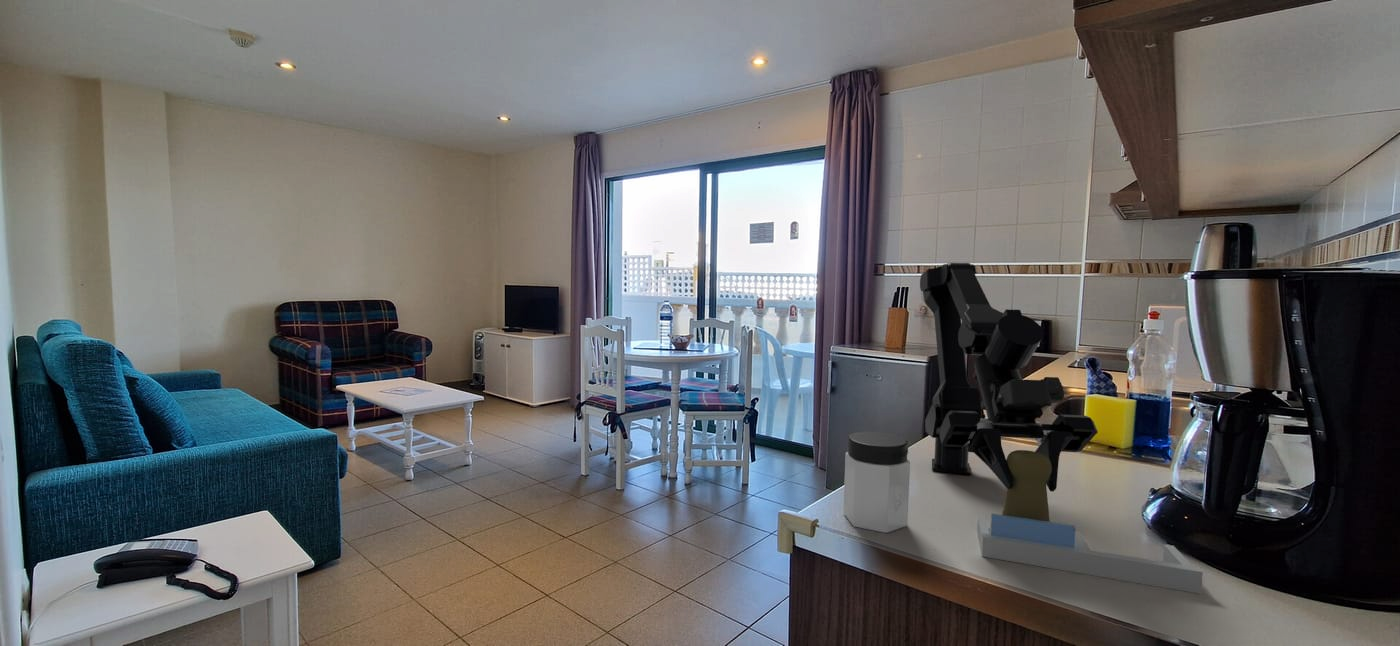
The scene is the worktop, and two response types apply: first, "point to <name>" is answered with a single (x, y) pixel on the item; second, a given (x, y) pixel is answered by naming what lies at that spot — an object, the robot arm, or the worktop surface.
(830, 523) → the worktop surface
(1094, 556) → the shallow tray
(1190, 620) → the worktop surface
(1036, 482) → the cork
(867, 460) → the jar
